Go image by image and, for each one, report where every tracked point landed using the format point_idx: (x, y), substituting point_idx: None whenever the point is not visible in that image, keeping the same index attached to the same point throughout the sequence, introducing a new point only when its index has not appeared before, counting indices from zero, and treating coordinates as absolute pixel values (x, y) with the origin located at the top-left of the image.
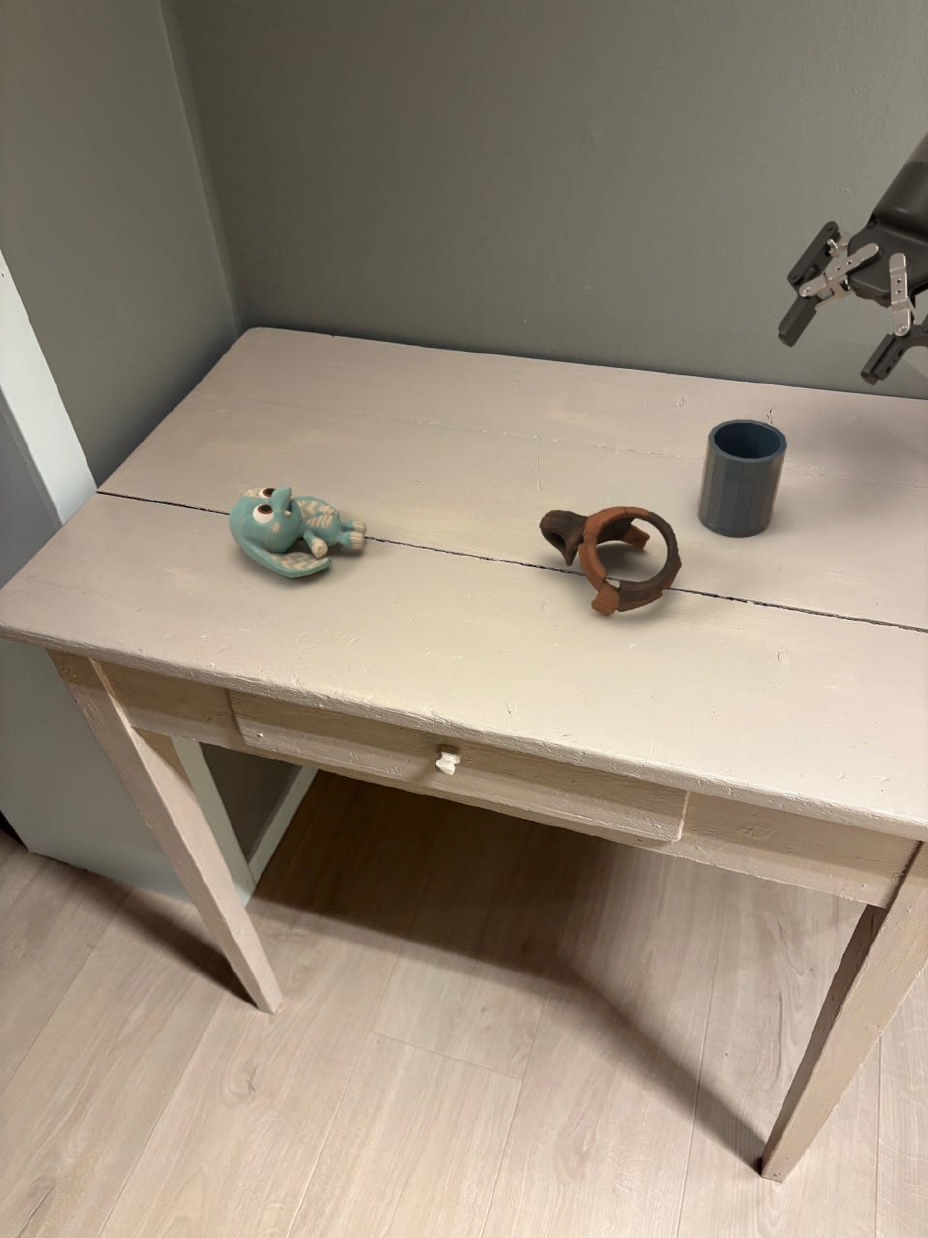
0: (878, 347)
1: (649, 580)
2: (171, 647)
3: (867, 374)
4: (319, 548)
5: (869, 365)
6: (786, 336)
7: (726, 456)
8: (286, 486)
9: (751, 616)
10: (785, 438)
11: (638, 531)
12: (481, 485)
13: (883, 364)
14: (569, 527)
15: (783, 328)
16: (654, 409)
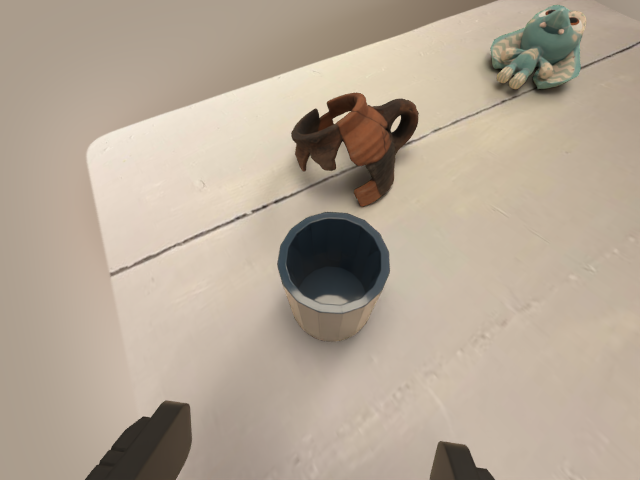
0: (135, 474)
1: (300, 122)
2: (478, 11)
3: (167, 402)
4: (504, 49)
5: (162, 417)
6: (442, 451)
7: (330, 212)
8: (564, 10)
9: (240, 201)
10: (293, 296)
11: (364, 184)
12: (531, 180)
13: (123, 441)
14: (385, 104)
15: (468, 461)
16: (582, 437)
